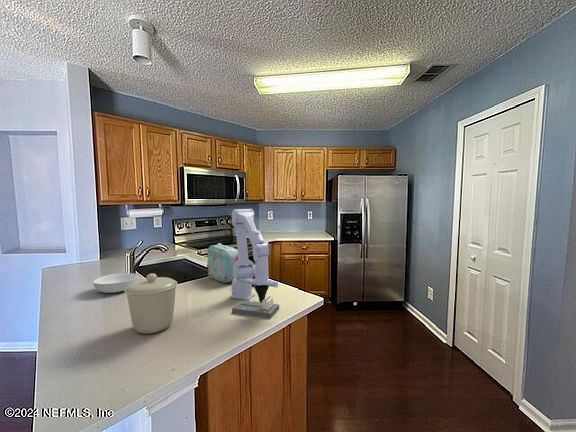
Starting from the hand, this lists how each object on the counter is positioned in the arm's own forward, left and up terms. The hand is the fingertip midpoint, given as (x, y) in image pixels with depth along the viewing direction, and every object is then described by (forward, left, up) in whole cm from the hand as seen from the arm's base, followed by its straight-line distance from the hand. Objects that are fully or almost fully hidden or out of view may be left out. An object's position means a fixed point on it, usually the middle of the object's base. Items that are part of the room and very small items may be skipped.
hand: (262, 301), depth 119 cm
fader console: (-3, 0, -4) cm, 5 cm away
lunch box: (-43, +36, -5) cm, 56 cm away
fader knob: (+3, 0, -2) cm, 3 cm away
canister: (-34, -26, -5) cm, 43 cm away
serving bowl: (-87, +2, -5) cm, 87 cm away
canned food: (-21, +32, -5) cm, 39 cm away
